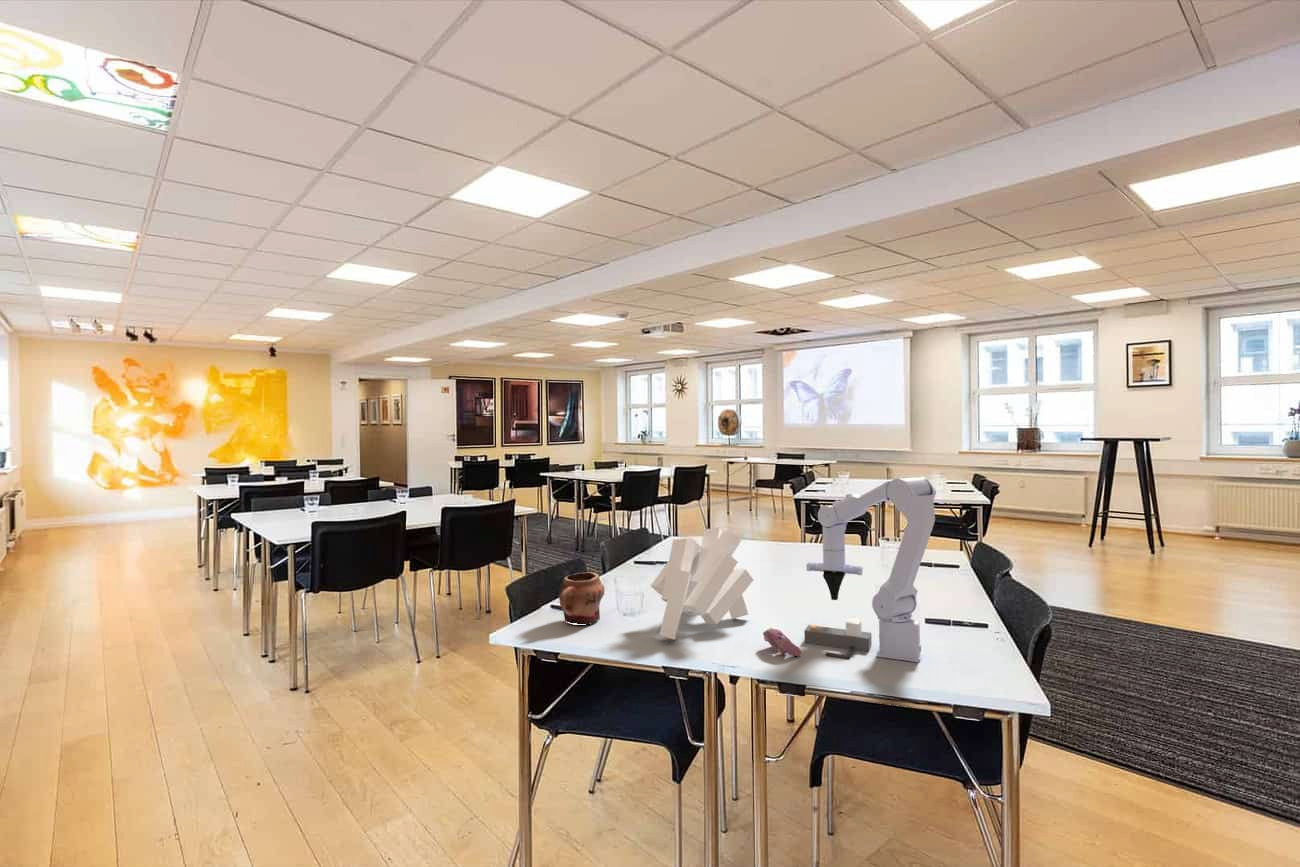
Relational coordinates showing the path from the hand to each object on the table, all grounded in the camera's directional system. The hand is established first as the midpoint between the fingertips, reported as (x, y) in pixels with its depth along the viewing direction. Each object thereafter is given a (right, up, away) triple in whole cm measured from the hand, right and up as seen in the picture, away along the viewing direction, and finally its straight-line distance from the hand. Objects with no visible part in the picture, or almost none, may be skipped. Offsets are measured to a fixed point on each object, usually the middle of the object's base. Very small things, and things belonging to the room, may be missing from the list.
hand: (834, 599), depth 167 cm
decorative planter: (-71, -11, +13) cm, 72 cm away
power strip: (-3, -9, -11) cm, 15 cm away
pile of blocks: (-35, -10, +10) cm, 38 cm away
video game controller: (-17, -10, -13) cm, 24 cm away
